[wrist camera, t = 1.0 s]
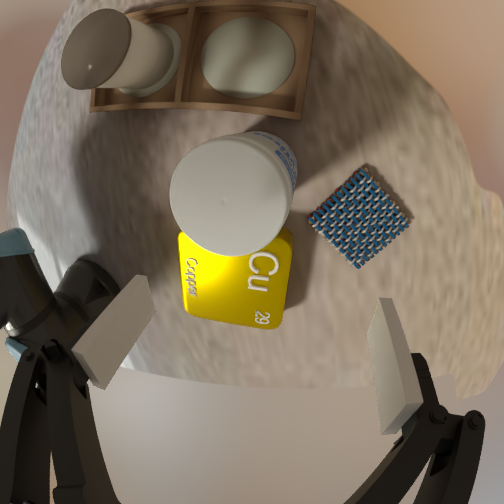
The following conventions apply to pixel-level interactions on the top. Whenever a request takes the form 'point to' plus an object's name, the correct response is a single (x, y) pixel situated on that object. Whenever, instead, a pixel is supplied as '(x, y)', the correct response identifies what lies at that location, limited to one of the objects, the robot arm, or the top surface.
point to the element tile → (236, 282)
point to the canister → (115, 53)
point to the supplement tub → (234, 192)
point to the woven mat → (358, 219)
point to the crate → (226, 58)
